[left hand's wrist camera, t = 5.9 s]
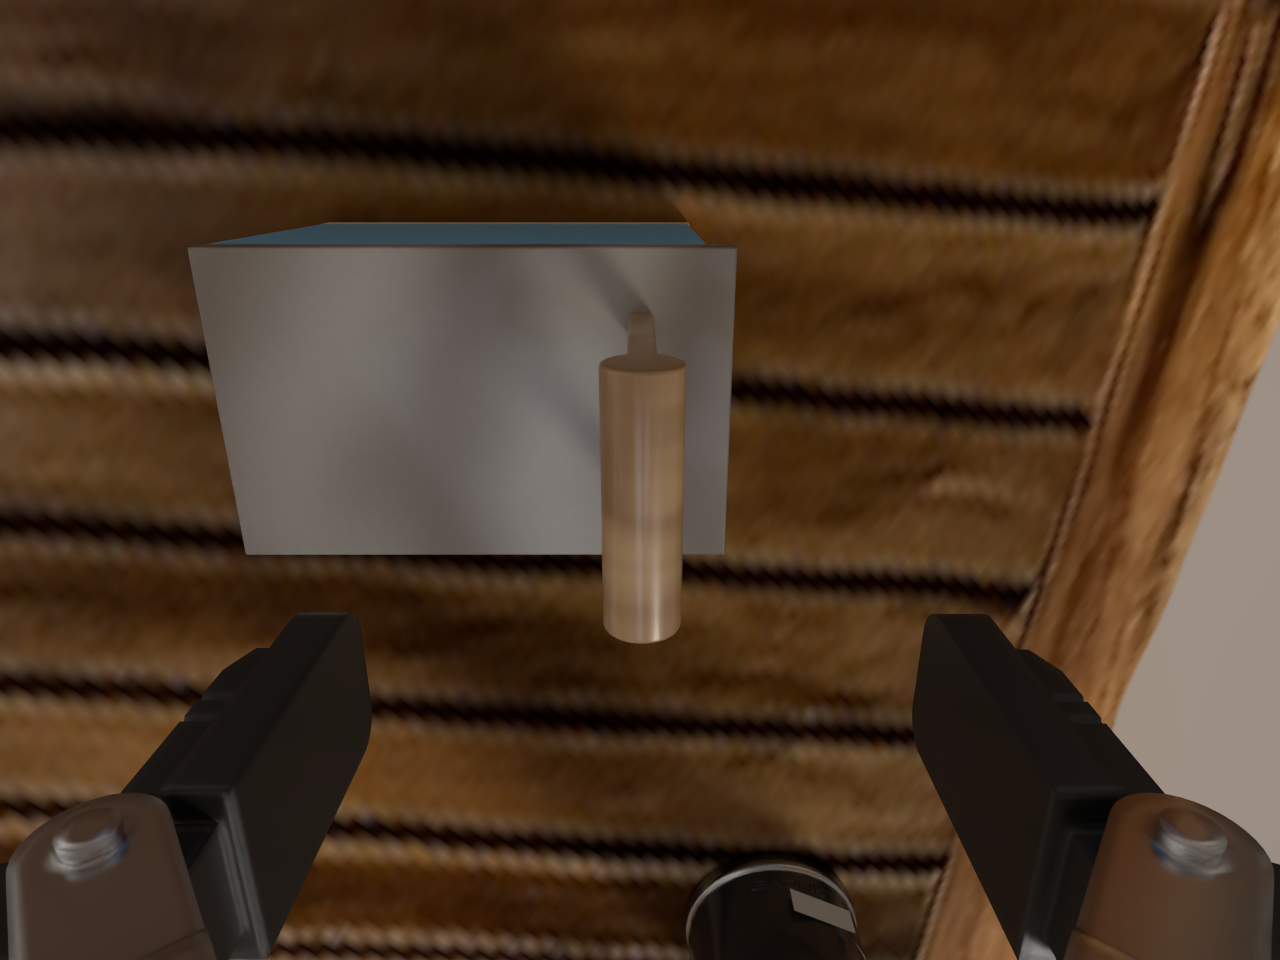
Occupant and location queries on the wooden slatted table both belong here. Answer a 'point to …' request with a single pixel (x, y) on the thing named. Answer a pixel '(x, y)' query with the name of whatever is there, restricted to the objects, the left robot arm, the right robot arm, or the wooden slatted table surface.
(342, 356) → the lid
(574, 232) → the chest
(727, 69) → the wooden slatted table surface
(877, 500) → the wooden slatted table surface
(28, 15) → the wooden slatted table surface
